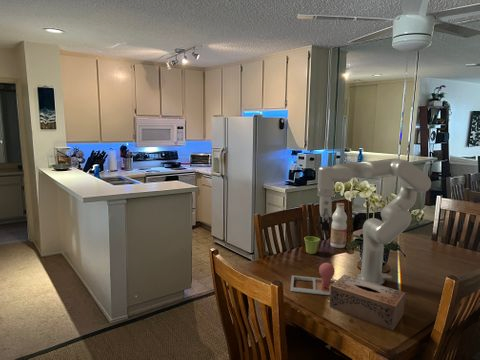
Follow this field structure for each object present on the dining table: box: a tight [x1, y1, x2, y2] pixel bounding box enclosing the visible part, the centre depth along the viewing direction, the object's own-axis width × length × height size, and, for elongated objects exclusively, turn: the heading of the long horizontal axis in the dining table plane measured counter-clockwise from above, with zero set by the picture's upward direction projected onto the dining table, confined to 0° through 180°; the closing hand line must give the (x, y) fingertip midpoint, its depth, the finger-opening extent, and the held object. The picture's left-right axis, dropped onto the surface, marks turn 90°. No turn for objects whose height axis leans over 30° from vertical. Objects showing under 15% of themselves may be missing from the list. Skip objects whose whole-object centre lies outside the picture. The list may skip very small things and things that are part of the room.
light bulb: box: [318, 262, 336, 287], centre depth 162 cm, size 7×7×12 cm
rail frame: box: [290, 275, 338, 296], centre depth 163 cm, size 22×14×2 cm, turn 79°
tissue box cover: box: [329, 274, 406, 331], centre depth 142 cm, size 26×14×10 cm, turn 51°
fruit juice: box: [330, 202, 348, 249], centre depth 218 cm, size 9×9×28 cm
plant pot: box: [303, 236, 321, 255], centre depth 208 cm, size 9×9×9 cm
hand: (324, 227), depth 165 cm, fingers open, 9 cm apart
